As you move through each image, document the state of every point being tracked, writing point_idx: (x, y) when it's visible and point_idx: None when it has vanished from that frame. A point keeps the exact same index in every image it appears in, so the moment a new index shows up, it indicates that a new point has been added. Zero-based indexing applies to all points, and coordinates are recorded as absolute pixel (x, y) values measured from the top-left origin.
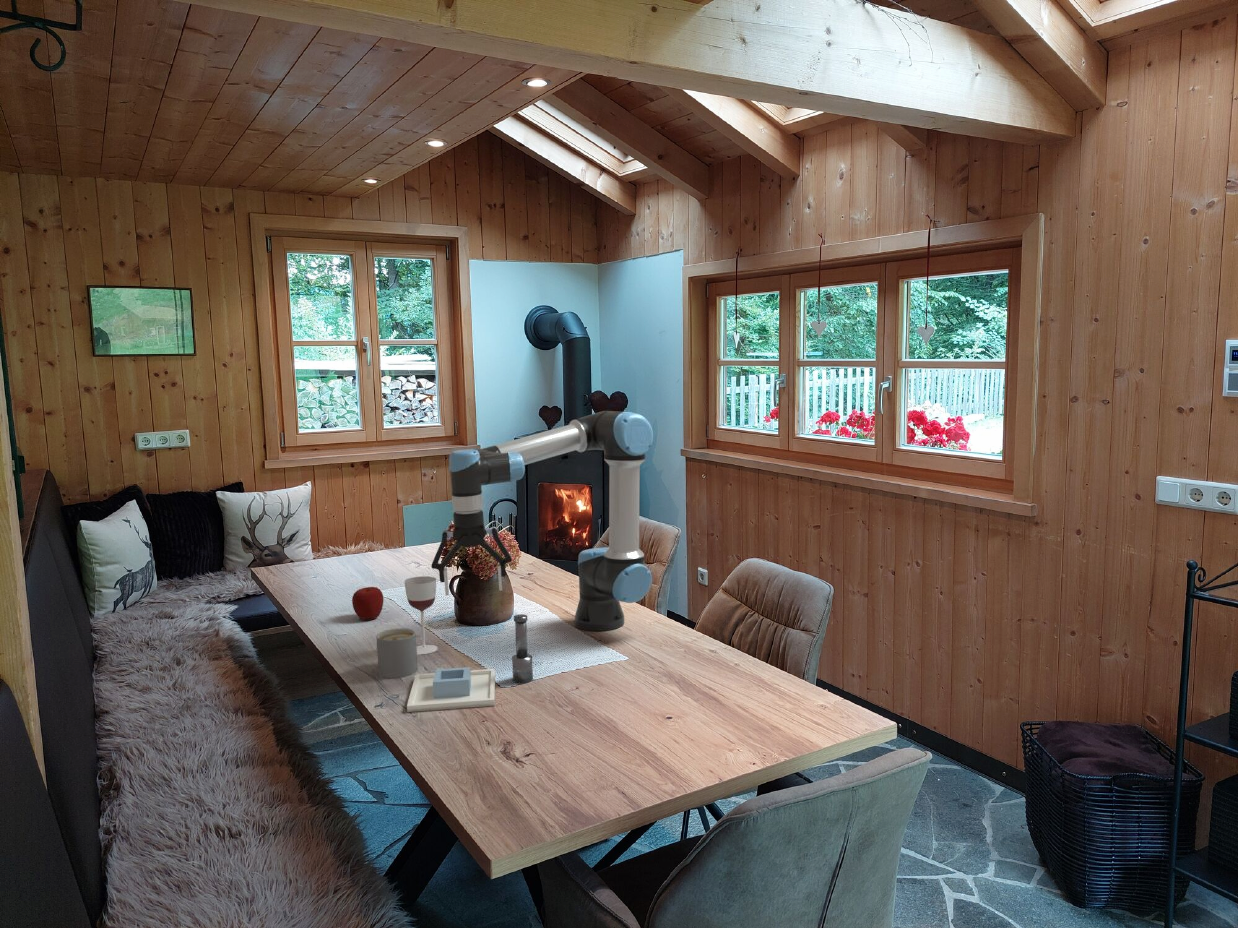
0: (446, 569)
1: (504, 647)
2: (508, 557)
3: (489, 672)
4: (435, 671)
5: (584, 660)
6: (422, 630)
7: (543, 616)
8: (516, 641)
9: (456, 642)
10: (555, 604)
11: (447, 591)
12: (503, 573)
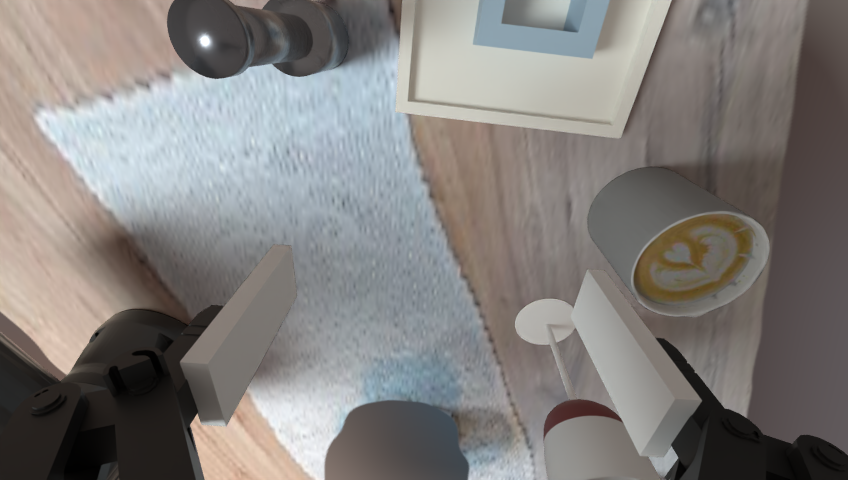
0: (661, 424)
1: (366, 283)
2: (31, 429)
3: (412, 100)
4: (597, 36)
5: (157, 139)
6: (560, 355)
7: (284, 411)
8: (286, 28)
9: (470, 339)
10: (264, 452)
11: (601, 283)
12: (207, 322)
